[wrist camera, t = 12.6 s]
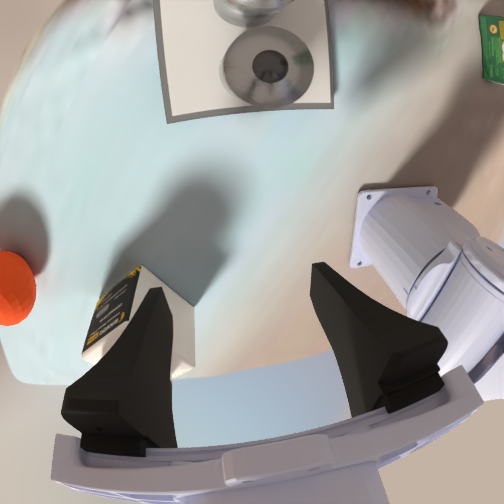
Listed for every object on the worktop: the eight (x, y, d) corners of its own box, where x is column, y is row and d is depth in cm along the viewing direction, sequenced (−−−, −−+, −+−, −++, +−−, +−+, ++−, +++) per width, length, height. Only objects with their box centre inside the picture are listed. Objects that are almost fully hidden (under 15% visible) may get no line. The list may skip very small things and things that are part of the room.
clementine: (-8, 277, 21) (-36, 322, 15) (-14, 225, 18) (-52, 268, 12) (47, 300, 24) (24, 352, 18) (46, 248, 21) (13, 301, 15)
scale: (312, -45, 11) (326, -58, 9) (324, 106, 18) (341, 111, 16) (154, -39, 10) (148, -54, 8) (169, 120, 17) (164, 126, 15)
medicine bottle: (141, 261, 23) (115, 385, 13) (196, 307, 27) (200, 422, 17) (97, 300, 25) (67, 408, 15) (148, 337, 29) (141, 439, 19)
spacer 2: (284, 41, 14) (313, 29, 9) (285, 100, 16) (314, 108, 12) (217, 42, 13) (222, 26, 9) (220, 103, 15) (226, 110, 11)
